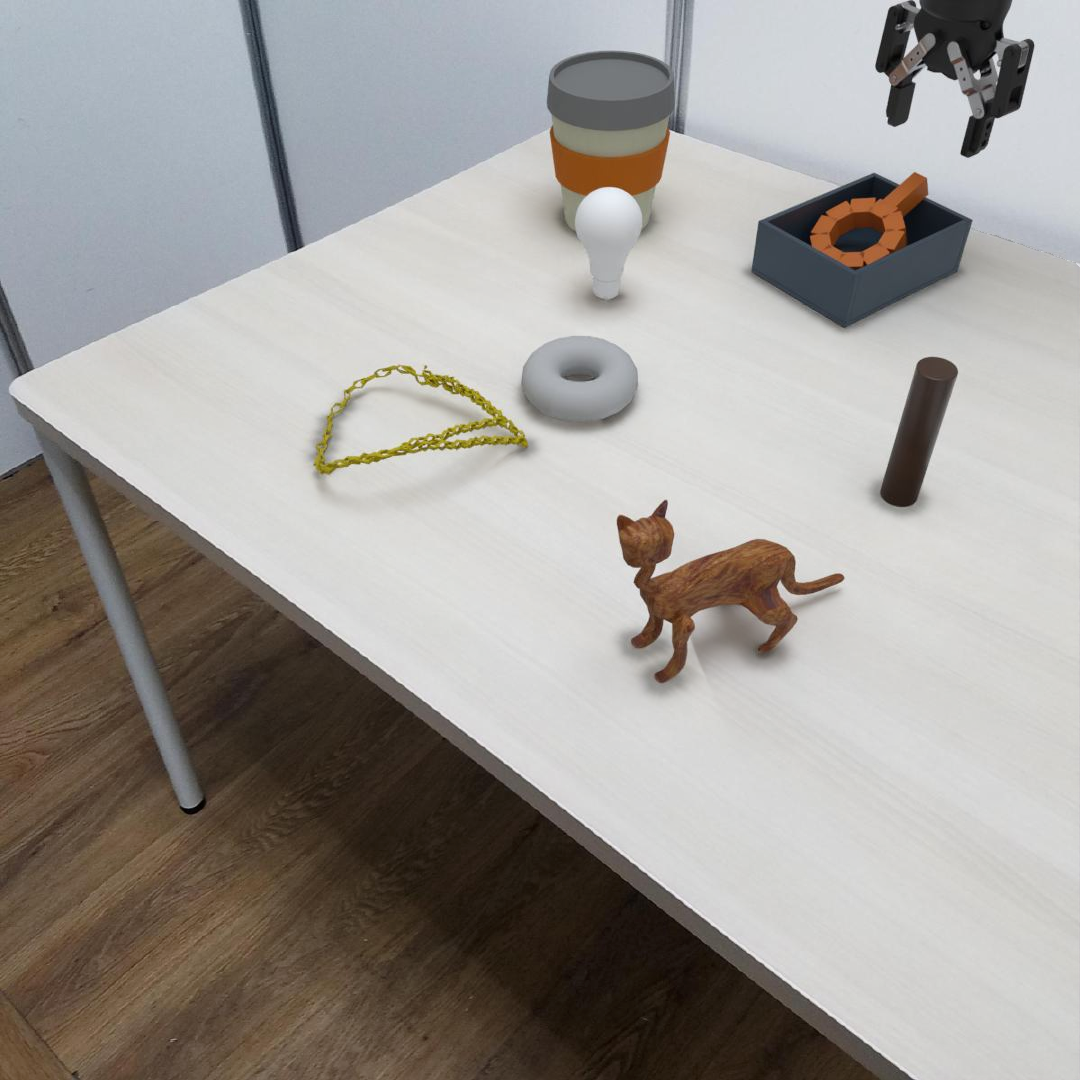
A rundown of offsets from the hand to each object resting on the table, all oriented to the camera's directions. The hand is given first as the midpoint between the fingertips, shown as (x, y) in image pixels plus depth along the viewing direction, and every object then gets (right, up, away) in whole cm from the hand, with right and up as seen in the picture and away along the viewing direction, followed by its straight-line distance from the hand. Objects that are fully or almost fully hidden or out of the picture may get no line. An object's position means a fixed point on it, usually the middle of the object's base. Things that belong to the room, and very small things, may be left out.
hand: (932, 138), depth 100 cm
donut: (-33, -25, -8) cm, 42 cm away
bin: (-6, -11, +5) cm, 14 cm away
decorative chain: (-46, -29, -12) cm, 56 cm away
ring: (-4, -8, +4) cm, 10 cm away
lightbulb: (-30, -14, +3) cm, 34 cm away
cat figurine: (-24, -44, -27) cm, 56 cm away
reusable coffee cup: (-30, -3, +14) cm, 33 cm away
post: (-9, -34, -17) cm, 39 cm away
